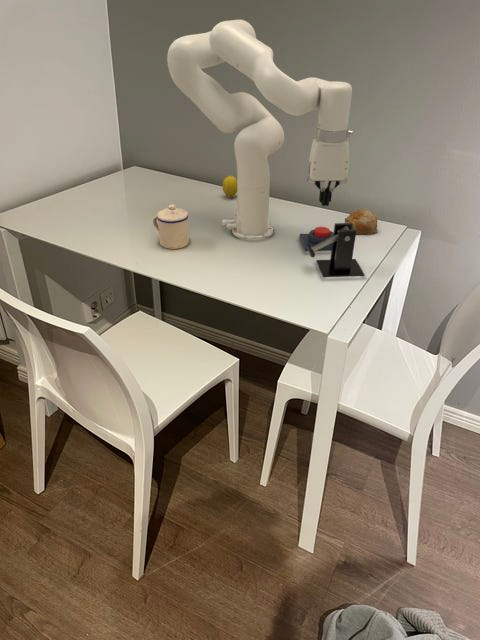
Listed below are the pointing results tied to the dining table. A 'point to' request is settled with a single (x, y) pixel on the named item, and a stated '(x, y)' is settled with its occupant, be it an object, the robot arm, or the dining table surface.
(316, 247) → the lever
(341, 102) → the robot arm
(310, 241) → the button housing
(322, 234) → the button
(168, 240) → the teacup with lid
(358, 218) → the bread roll
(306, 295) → the dining table surface
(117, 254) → the dining table surface
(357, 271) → the lever bracket
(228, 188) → the lemon
